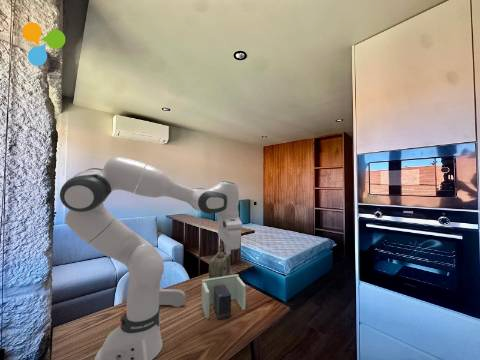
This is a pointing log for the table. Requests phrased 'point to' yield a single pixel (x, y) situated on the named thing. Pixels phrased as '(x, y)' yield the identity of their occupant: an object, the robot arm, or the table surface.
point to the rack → (232, 284)
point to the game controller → (171, 297)
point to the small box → (222, 301)
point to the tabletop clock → (219, 265)
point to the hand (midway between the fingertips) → (227, 253)
